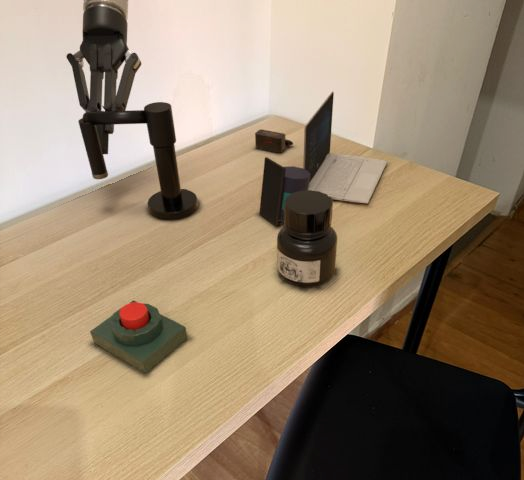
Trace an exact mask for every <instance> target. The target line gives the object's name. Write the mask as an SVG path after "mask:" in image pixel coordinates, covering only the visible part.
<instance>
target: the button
mask: <svg viewBox="0 0 524 480" xmlns="http://www.w3.org/2000/svg"><path fill="white" fill-rule="evenodd" d="M142 303H143V302H138V301H136V302H134V303H130V302H128V303H126V304H124V305H123V306H122V307H120V308H121V309H120V308H119V309H120V312H119V315H120V319H121V322H122V325H123V327H125V328H126V329H130V330H136V329H139V328H143V327H144V326H146V325H147V324H148V322H149V315H148V310H147V307H146V306H145V305H144V304H145V303H144V304H142Z"/></svg>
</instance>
